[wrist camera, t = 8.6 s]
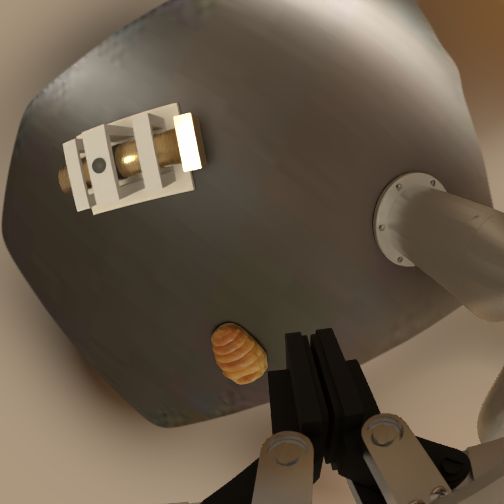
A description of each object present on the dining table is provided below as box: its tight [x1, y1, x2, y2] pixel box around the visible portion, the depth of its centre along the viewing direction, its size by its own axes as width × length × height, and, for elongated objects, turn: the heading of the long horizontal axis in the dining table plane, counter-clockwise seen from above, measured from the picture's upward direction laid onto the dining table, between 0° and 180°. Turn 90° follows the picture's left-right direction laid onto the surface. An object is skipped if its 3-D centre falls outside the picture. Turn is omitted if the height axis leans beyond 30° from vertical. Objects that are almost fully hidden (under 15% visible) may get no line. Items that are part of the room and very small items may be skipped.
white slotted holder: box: [63, 103, 195, 215], centre depth 26 cm, size 13×10×9 cm
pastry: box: [211, 323, 268, 384], centre depth 38 cm, size 9×7×4 cm
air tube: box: [59, 113, 208, 195], centre depth 27 cm, size 16×5×5 cm, turn 100°
